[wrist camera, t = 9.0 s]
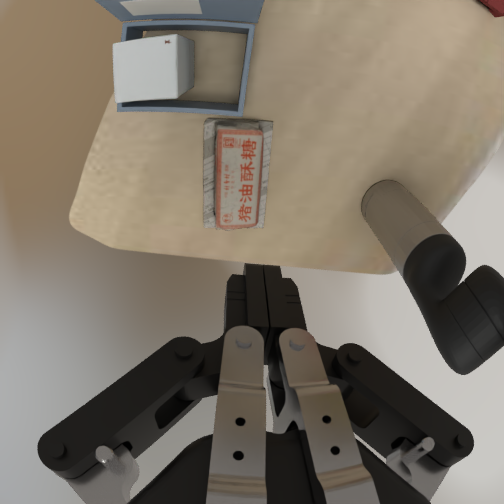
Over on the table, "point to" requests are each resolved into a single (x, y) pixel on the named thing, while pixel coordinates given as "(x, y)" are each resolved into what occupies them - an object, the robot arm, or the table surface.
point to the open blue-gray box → (136, 32)
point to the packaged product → (235, 172)
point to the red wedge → (495, 7)
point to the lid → (184, 9)
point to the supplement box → (153, 68)
